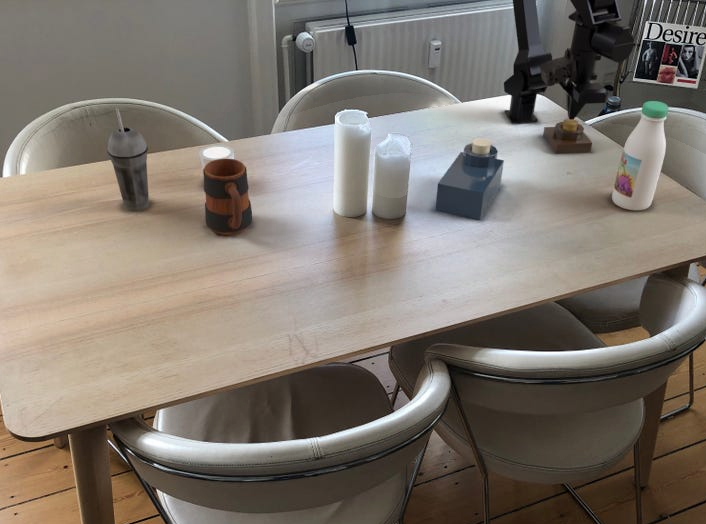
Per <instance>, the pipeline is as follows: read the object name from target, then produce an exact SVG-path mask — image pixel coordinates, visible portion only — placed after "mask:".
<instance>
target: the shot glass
mask: <svg viewBox="0 0 706 524" xmlns="http://www.w3.org/2000/svg"><path fill="white" fill-rule="evenodd" d="M198 154H199V159H200V165H201V169H202V170H203V169H204V167H205V166H206V164H208V163H209V162H211V161H213V160H217V159H235V150H234V148H232V147H231V146H227V145H223V144H215V145H214V144H213V145H209V146H205V147H204V148H201V149H200V151H199V152H198Z"/></svg>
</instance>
